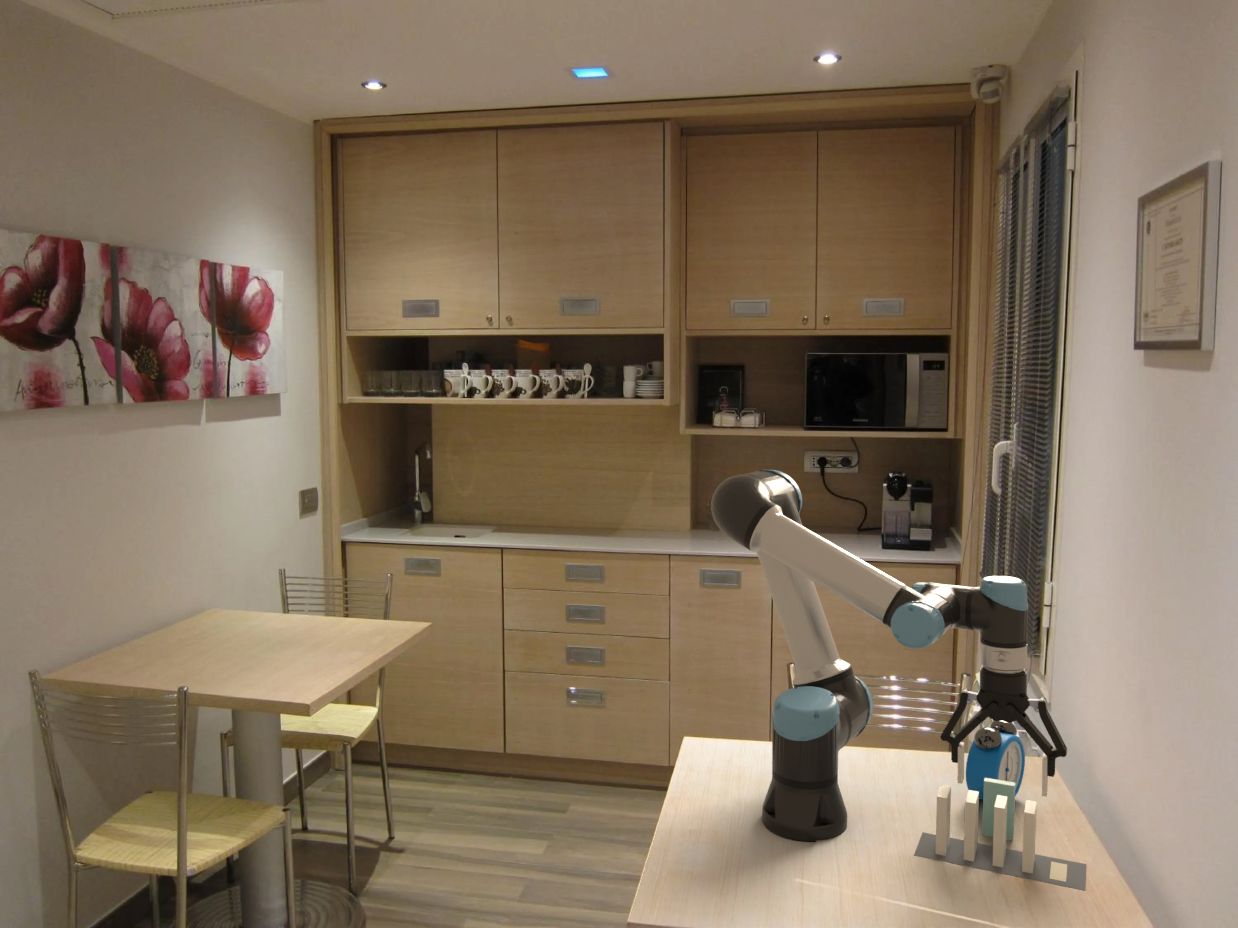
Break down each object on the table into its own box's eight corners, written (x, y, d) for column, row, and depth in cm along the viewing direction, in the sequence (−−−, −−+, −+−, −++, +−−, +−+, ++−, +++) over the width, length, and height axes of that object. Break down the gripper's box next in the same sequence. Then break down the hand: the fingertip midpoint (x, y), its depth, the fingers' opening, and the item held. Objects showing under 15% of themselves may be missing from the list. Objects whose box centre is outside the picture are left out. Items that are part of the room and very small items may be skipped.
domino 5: (1022, 871, 158) (1024, 811, 157) (1024, 857, 163) (1026, 799, 162) (1032, 873, 157) (1034, 813, 156) (1034, 859, 162) (1036, 801, 161)
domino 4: (992, 865, 160) (994, 806, 159) (995, 851, 165) (997, 794, 164) (1002, 867, 159) (1004, 808, 158) (1005, 853, 164) (1007, 796, 163)
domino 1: (935, 853, 164) (936, 796, 163) (939, 840, 169) (941, 784, 168) (945, 855, 163) (946, 798, 162) (949, 842, 168) (951, 786, 167)
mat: (913, 856, 164) (913, 854, 164) (922, 833, 172) (922, 831, 172) (1085, 892, 152) (1085, 890, 152) (1086, 865, 160) (1086, 863, 160)
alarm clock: (995, 816, 178) (997, 737, 177) (962, 806, 182) (964, 728, 181) (1024, 794, 187) (1027, 718, 186) (993, 785, 192) (995, 710, 190)
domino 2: (963, 859, 162) (965, 801, 161) (967, 846, 167) (968, 789, 166) (973, 861, 161) (975, 803, 160) (977, 848, 166) (978, 791, 165)
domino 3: (1012, 841, 169) (1014, 785, 168) (982, 835, 171) (983, 780, 170) (1013, 837, 170) (1015, 782, 169) (983, 831, 172) (984, 777, 171)
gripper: (924, 665, 170) (924, 783, 172) (1083, 681, 159) (1081, 807, 160) (931, 653, 176) (930, 767, 178) (1084, 669, 165) (1081, 790, 167)
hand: (1002, 786), depth 169 cm, fingers open, 13 cm apart
